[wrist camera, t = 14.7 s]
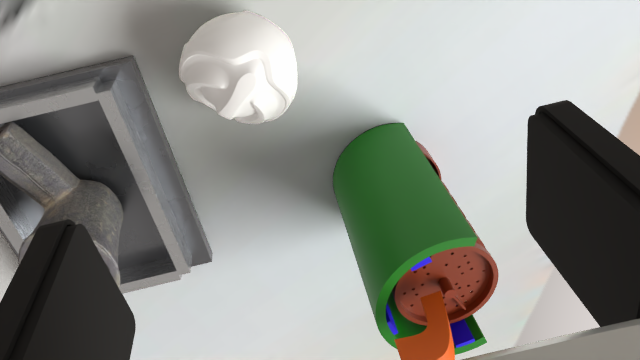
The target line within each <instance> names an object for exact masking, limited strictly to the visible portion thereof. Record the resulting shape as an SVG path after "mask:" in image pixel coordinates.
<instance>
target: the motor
mask: <svg viewBox="0 0 640 360" xmlns="http://www.w3.org/2000/svg"><path fill="white" fill-rule="evenodd" d="M333 188H334V192H335V195H336V198H337V202H338V205H339V208H340V211H341V214H342V217H343V220H344V223H345V227H346V230H347V233H348V236H349V239H350V242H351V245H352V248H353V252H354V255H355V258H356V261H357V264H358V267H359V270H360V273H361V277H362V280H363V283H364V286H365V289H366V292H367V295H368V298H369V301H370V305H371V308H372V311H373V314H374V317H375V320H376V323H377V326H378V329H379V331H380V333H381V335H382V336H383V338H384V339H385V340H386V341H387V342H388V343H389V344H390V345H392V346H393V347H394V348H396V349H398V352H399V355H400V358H401V360H454V359H455V355H456V354H460V353H463V352H466V351H469V350H472V349H474V348H477V347H479V346H481V345H483V344H485V343H487V341H486V339H485V337H484V335H483V334H482V332H481V330H480V328H479V326H478V324H477V322H476V320H475V318H474V317H473V315H472V314H473V313H475V312H476V311H478V310H479V309H480V308H481V307H482V306H483V305H484V304H485V303H486V302H487V301H488V300H489V299H490V297H491V296H492V294H493V292H494V290H495V288H496V285H497V282H498V269H497V265H496V263H495V261H494V260H493V258H492V257H491V255H490V254H489V252H488V251H487V250H486V248H485V246H484V244H483V243H482V241H481V240H480V238H479V237H478V235H477V234H476V233H475V231H474V229H473V227H472V226H471V224H470V223H469V221H468V220H467V219H466V217H465V215H464V214H463V212H462V211H461V209H460V208H459V206H458V205H457V203H456V201H455V200H454V198H453V197H452V195H451V194H450V193H449V191H448V189H447V188H446V186H445V185H444V183H443V182H442V181H441V174H440V171H439V168H438V166H437V165H436V163H435V162H434V160H433V159H432V157H431V156H430V154H429V153H428V151H427V150H426V149H425V148H424V147H423V146H422V145H421V144H420V143H418V142H417V141H415V140H414V138H413V137H412V135H411V134H410V132H409V131H408V129H407V128H406V126H405V125H404V123H391V124H385V125H381V126H378V127H375V128H372V129H370V130H368V131H366V132H364V133H363V134H361V135H359V136H358V137H357V138H355V139H354V140H353V141H352V142H351V143H350V144H349V145H348V146H347V147H346V148H345V150H344V151H343V152H342V154H341V155H340V157H339V159H338V161H337V163H336V166H335V170H334V174H333ZM470 291H471V292H470Z"/></svg>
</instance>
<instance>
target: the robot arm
mask: <svg viewBox="0 0 640 360" xmlns="http://www.w3.org/2000/svg"><path fill="white" fill-rule="evenodd" d="M526 222H527V226H528V229H529V231H530V233H531V235H532V236H533V238H534V239H535V240H536V242H537V243H538V244H539V246H540V247H541V248H542V250H543V251H544V252H545V254H546V255H547V256H548V258H549V259H550V260H551V262H552V263H553V264H554V266H555V267H556V268H557V270H558V271H559V272H560V274H561V275H562V276H563V278H564V279H565V280H566V281H567V283H568V284H569V286H570V287H571V288H572V290H573V291H574V292H575V294H576V295H577V296H578V298H579V299H580V300H581V301H582V303H583V304H584V306H585V307H586V308H587V309H588V311H589V312H590V314H591V315H592V316H593V318H594V319H595V320H596V322H597V323H598V324H599V326H600V327H599V328H595V329H591V330H586V331H581V332H577V333H572V334H568V335H563V336H559V337H555V338H551V339H546V340H542V341H538V342H534V343H530V344H525V345H521V346H517V347H513V348H509V349H504V350H500V351H496V352H492V353H487V354H483V355H479V356H475V357H471V358H466V359H462V360H640V156H639V155H638V154H637V153H635V152H634V151H633V150H632V149H630V148H629V147H628V146H626V145H625V144H624V143H623V142H621V141H620V140H619V139H618V138H616V137H615V136H614V135H612V134H611V133H610V132H609V131H607V130H606V129H605V128H603V127H602V126H601V125H600V124H598V123H597V122H596V121H594V120H593V119H592V118H591V117H589V116H588V115H587V114H586V113H584V112H583V111H582V110H580V109H579V108H578V107H577V106H575V105H574V104H573V103H571V102H570V101H568V100H565V101H560V102H556V103H552V104H548V105H544V106H539V107H538V108H537V110H536V112H535V115H532V116H530V117H529V119H528V140H527V193H526ZM134 334H135V319H134V315H133V313H132V311H131V309H130V307H129V306H128V304H127V302H126V300H125V298H124V297H123V295H122V293H121V291H120V289H119V287H118V286H117V284H116V282H115V280H114V278H113V277H112V275H111V273H110V271H109V269H108V267H107V266H106V264H105V262H104V260H103V258H102V256H101V255H100V253H99V251H98V249H97V247H96V246H95V244H94V242H93V240H92V238H91V236H90V235H89V233H88V231H87V229H86V228H85V226H84V225H82V224H75V223H74V222H73V221H72V220H70V219H66V220H62V221H58V222H54V223H50V224H45V225H42V226H39V228H38V229H37V231H36V233H35V235H34V237H33V239H32V241H31V243H30V245H29V247H28V249H27V251H26V253H25V255H24V257H23V259H22V260H21V262H20V264H19V266H18V268H17V270H16V272H15V274H14V276H13V278H12V280H11V282H10V284H9V286H8V288H7V290H6V292H5V294H4V296H3V298H2V300H1V302H0V360H130V355H131V350H132V345H133V339H134Z"/></svg>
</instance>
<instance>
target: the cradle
mask: <svg viewBox="0 0 640 360" xmlns="http://www.w3.org/2000/svg"><path fill="white" fill-rule="evenodd" d="M8 122H14V123H15V124H17V125H18V126H19V127H21V128H22V129H23V130H24V131H26V132H27V133H28V134H29V135H30V136H31V137H33V138H34V139H35V140H36V141H37V142H38V143H40V144H41V145H42V146H43V147H45V148H46V149H47V150H48V151H49V152H51V153H52V154H53V155H54V156H55V157H56V158H57V159H58V160H59V161H60V162H61V163H62V164H63V165H65V166H66V167H67V168H68V169H69V170H70V171H71V172H72V173H73V174H74V175H75V176H76V177H77V178H78V179H80V180H91V181H97V182H100V183H102V184H104V185H106V186H107V187H108V188H110V189H111V191H112V192H113V193H114V194H115V195H116V196H117V198H118V199H119V201H120V203H121V205H122V208H123V212H124V215H123V222H122V226H121V230H120V235H119V244H118V267H119V272H120V280H121V281H120V287H119V289H120V291H121V293H127V292H131V291H135V290H139V289H143V288H147V287H151V286H156V285H160V284H164V283H168V282H172V281H176V280H180V279H181V275H182V274H186V273H190V271H191V267H192V266H196V265H200V264H204V263H208V262H212V251H211V248H210V246H209V243H208V241H207V238H206V236H205V233H204V231H203V228H202V226H201V223H200V221H199V218H198V216H197V213H196V211H195V208H194V206H193V203H192V201H191V198H190V196H189V193H188V191H187V188H186V186H185V183H184V181H183V178H182V176H181V173H180V171H179V168H178V166H177V163H176V161H175V158H174V156H173V153H172V151H171V148H170V146H169V143H168V141H167V138H166V136H165V133H164V131H163V128H162V126H161V123H160V121H159V118H158V116H157V113H156V111H155V108H154V106H153V103H152V101H151V98H150V96H149V93H148V91H147V88H146V86H145V83H144V81H143V78H142V76H141V73H140V71H139V68H138V66H137V63H136V61H135V58H134V56H130V57H126V58H122V59H118V60H113V61H109V62H105V63H101V64H97V65H92V66H88V67H84V68H80V69H75V70H71V71H67V72H63V73H59V74H54V75H50V76H46V77H42V78H38V79H33V80H29V81H25V82H21V83H17V84H12V85H8V86H4V87H0V128H1V127H2V126H3V125H5V124H7V123H8ZM44 211H45V208H43V207H42V206H41V205H40V204H39V203H37V202H36V201H35V200H34V199H32V198H31V197H30V196H28V195H27V194H26V193H24V192H23V191H22V190H20V189H19V188H17V187H16V186H15V185H13V184H12V183H11V182H9V181H8V180H7V179H6V178H4V177H3V176H2V175H0V231H1V233H2V234H3V236H4V237H5V239H6V240H7V242H8V243H9V245H10V246H11V248H12V249H13V251H14V252H15V254H16V255H17V257H18V253H19V249H20V246H21V244H22V242H23V241H24V240H25V239H26V238H27V237H28V236H29V235H30V234H31V233H32V232H33V231H34V229H35V228H36V226H37V225H38V223H39V221H40V220H41V218H42V216H43V214H44Z"/></svg>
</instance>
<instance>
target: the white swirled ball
mask: <svg viewBox="0 0 640 360" xmlns="http://www.w3.org/2000/svg"><path fill="white" fill-rule="evenodd" d="M179 77H180V79H181V81H182V82H184V83H185V86H186V90H187V92H188V94H189V95H190V97H191V98H192V99H193V100H195V101H199V102H202V103H203V104H205V105H206V106H208V107H210V108H212V109H214V110H216V111H217V113H218V114H219V115H221V116H222V117H224V118H227V119H229V120H231V119H232V118H234V119H235V120H236V121H237V122H240V123H246V124H260V123H262V122H269V121H273V120H275V119H277V118H278V117H280V116H281V115H282V114H283V113H284V112H285V111H286V110H287V109H288V107H289V106H290V104H291V102H292V101H293V99H294V97H295V94H296V91H297V83H298V74H297V63H296V57H295V53H294V49H293V46H292V43H291V41H290V39H289V37H288V36H287V34H286V33H285V32H284V31H283V30H282V29H281V28H279V27H278V26H277V25H276V24H274V23H273V22H272V21H270V20H269V19H267V18H265V17H263V16H261V15H258V14H256V13H253V12H250V11H246V10H245V11H243V12H237V13H229V14H224V15H220V16H217V17H215V18H213V19H211V20H209V21H208V22H206V23H205V24H203V25H202V26H201V27H200V28H199V29H198V30H197V31H196V32H195V33H194V34H193V36H192V37H191V38H190V40H189V42H188V43H186V44H184V47H183V51H182V54H181V59H180V64H179Z"/></svg>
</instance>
